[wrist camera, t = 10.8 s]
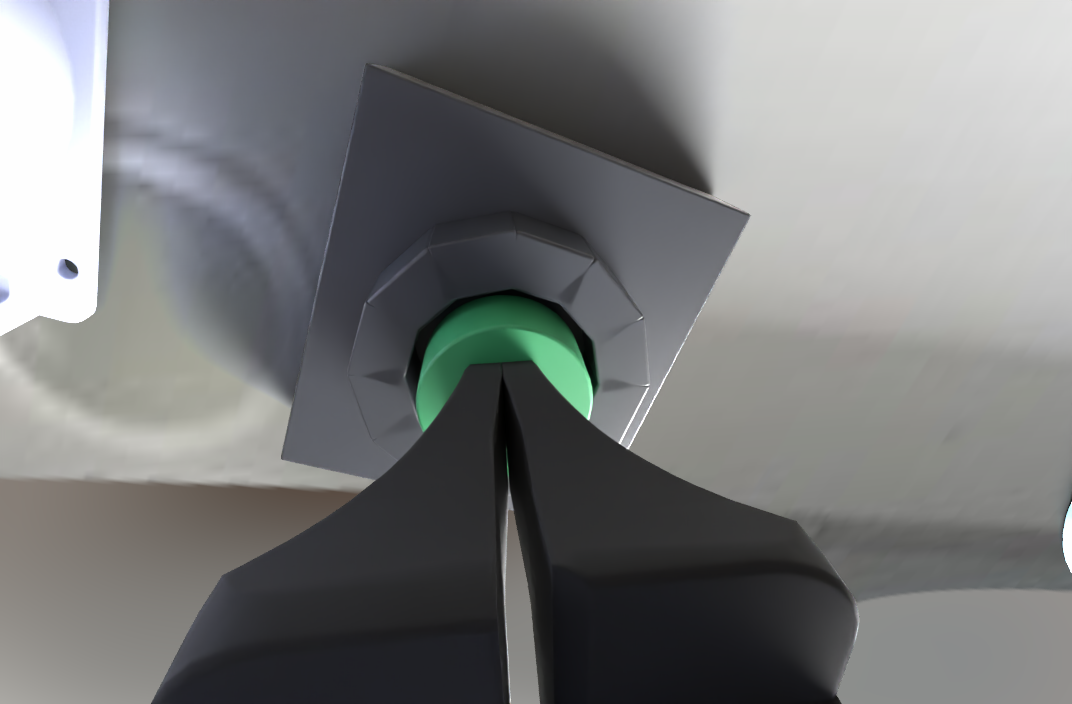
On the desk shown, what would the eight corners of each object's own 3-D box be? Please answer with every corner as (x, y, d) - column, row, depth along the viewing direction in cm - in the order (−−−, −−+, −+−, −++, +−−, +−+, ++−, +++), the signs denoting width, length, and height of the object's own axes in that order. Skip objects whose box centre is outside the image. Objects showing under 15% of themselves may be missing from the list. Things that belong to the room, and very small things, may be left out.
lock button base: (576, 480, 19) (599, 575, 15) (303, 415, 17) (254, 507, 13) (716, 197, 15) (791, 234, 11) (382, 64, 13) (345, 59, 9)
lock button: (547, 446, 14) (556, 493, 12) (405, 410, 13) (395, 456, 11) (603, 321, 12) (621, 356, 11) (449, 272, 12) (444, 302, 10)
